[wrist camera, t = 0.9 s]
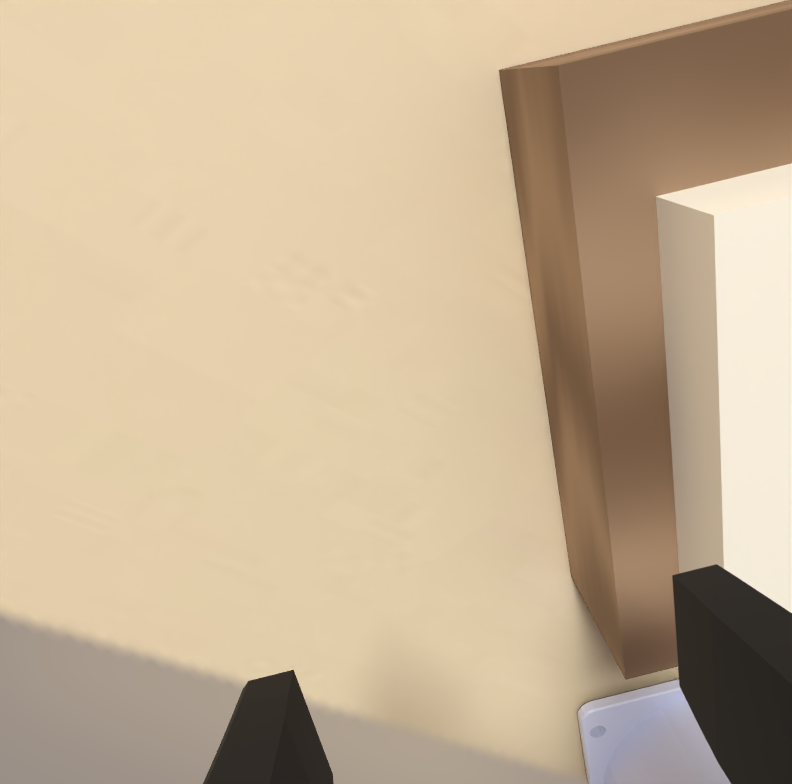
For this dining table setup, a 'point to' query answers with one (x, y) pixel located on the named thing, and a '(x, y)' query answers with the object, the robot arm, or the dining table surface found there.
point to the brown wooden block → (629, 277)
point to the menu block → (731, 374)
